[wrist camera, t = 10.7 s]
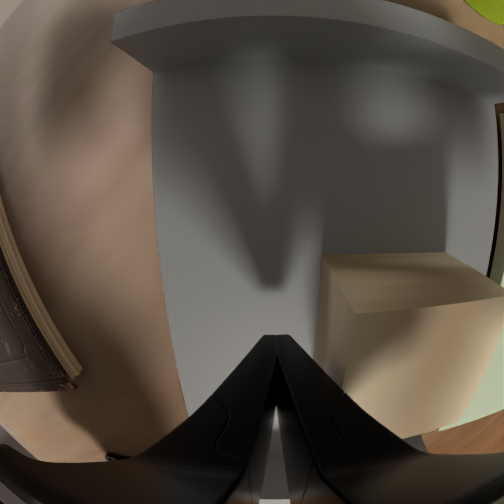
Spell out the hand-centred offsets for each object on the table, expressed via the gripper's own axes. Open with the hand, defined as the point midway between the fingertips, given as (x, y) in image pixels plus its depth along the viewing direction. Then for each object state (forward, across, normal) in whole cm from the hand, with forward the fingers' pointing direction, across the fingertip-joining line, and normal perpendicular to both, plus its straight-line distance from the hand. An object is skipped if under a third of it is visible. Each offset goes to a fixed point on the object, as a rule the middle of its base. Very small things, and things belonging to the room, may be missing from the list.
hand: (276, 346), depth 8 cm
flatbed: (+3, -3, 0) cm, 4 cm away
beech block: (+2, -4, 0) cm, 4 cm away
